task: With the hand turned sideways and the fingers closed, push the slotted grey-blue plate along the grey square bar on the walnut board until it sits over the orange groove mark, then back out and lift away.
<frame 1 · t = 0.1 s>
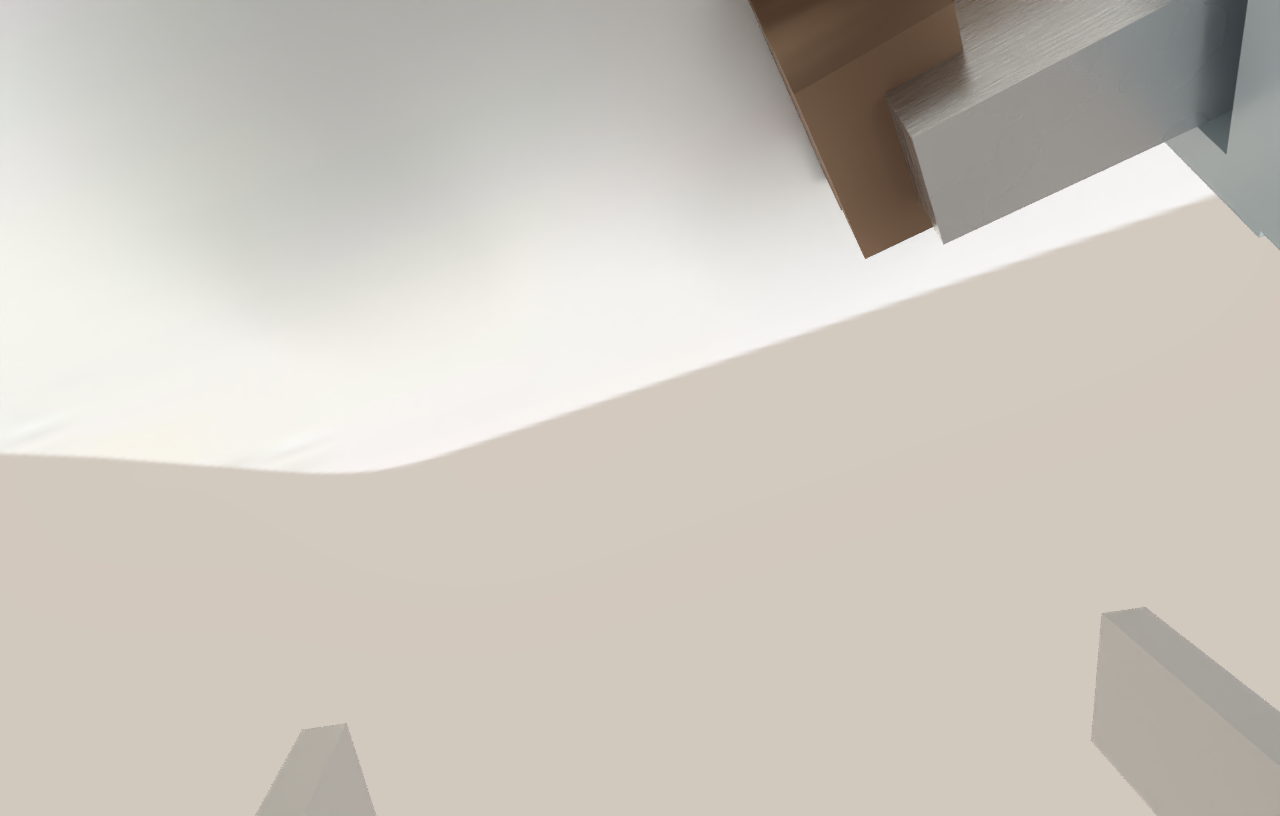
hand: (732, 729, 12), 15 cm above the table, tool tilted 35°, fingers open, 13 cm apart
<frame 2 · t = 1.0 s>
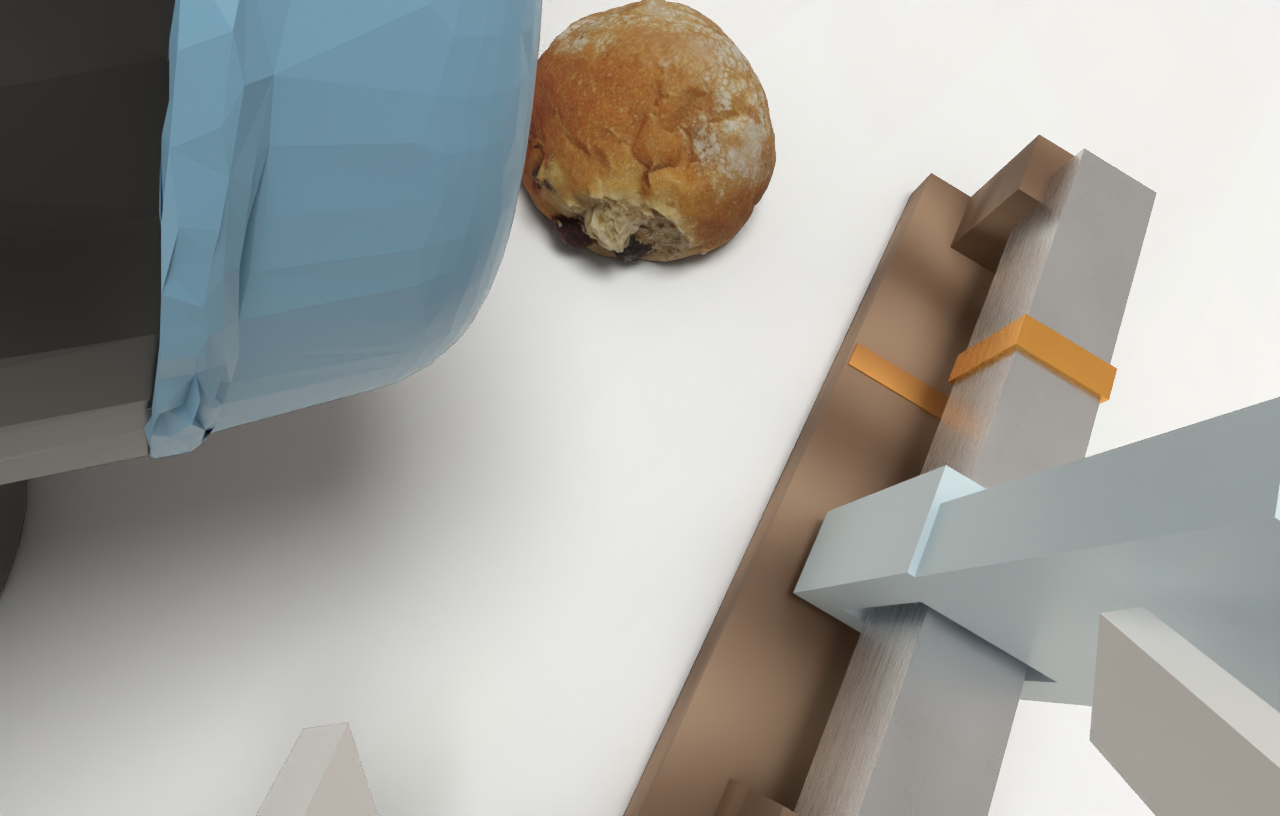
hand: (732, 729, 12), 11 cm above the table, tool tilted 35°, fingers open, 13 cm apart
base board: (895, 511, 27), on the table
grey square bar: (994, 479, 21), point 6 cm above the table
bread roll: (633, 175, 29), on the table
slotted grey-blue plate: (1065, 581, 16), point 10 cm above the table, slide at -3.8 cm, touching gripper
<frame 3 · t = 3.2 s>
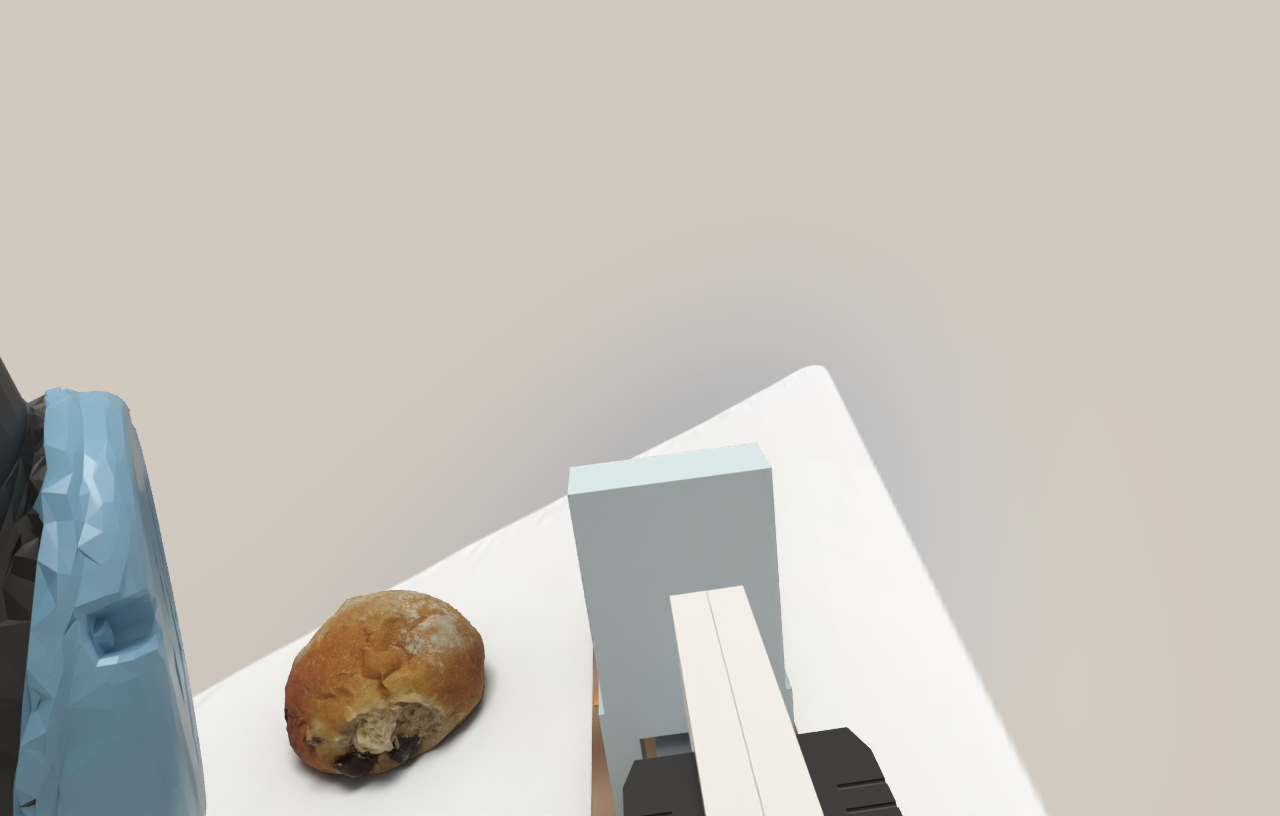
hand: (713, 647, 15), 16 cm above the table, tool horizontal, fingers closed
base board: (699, 778, 31), on the table
grey square bar: (686, 675, 29), point 6 cm above the table
bread roll: (396, 713, 38), on the table
slotted grey-blue plate: (687, 652, 24), point 9 cm above the table, slide at -3.6 cm
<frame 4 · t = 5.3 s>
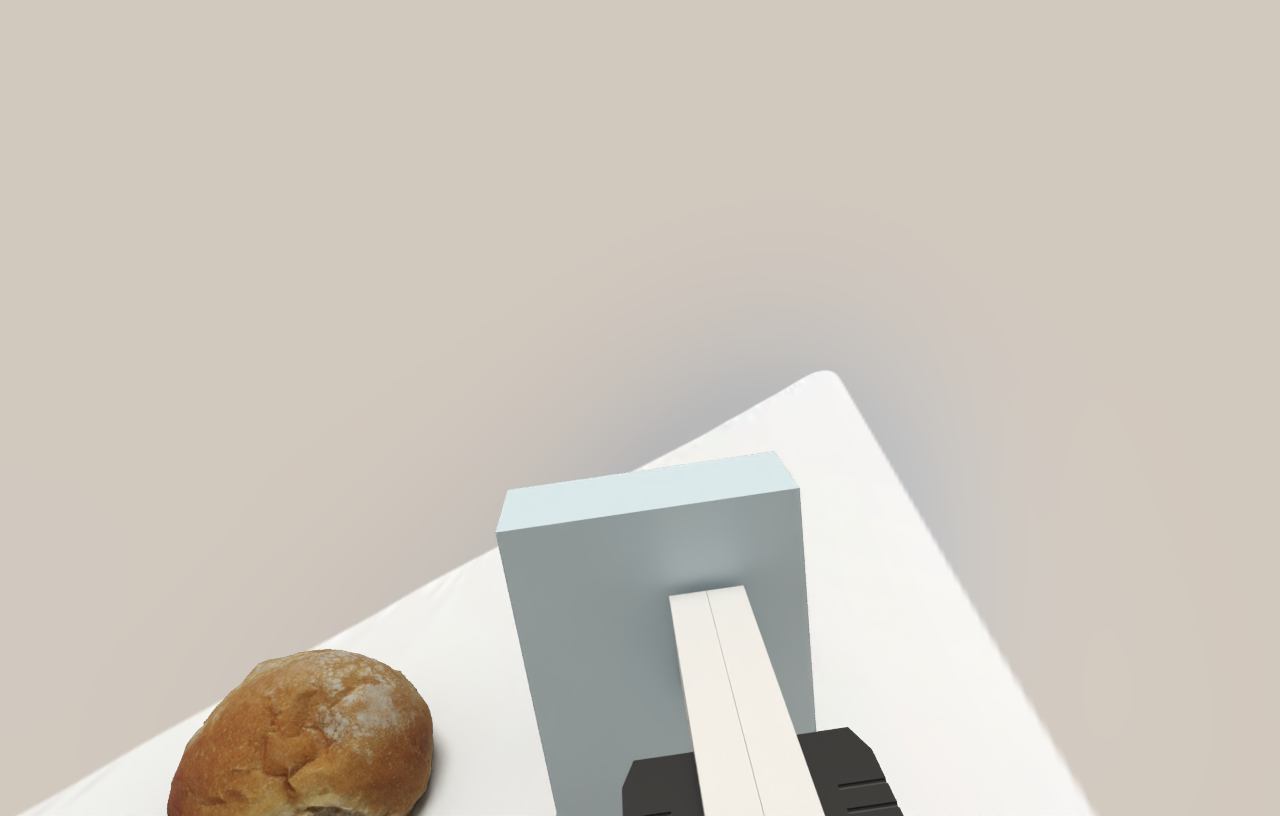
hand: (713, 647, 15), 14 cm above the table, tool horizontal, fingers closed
bread roll: (321, 807, 30), on the table
slotted grey-blue plate: (681, 745, 17), point 10 cm above the table, slide at -2.9 cm, touching gripper
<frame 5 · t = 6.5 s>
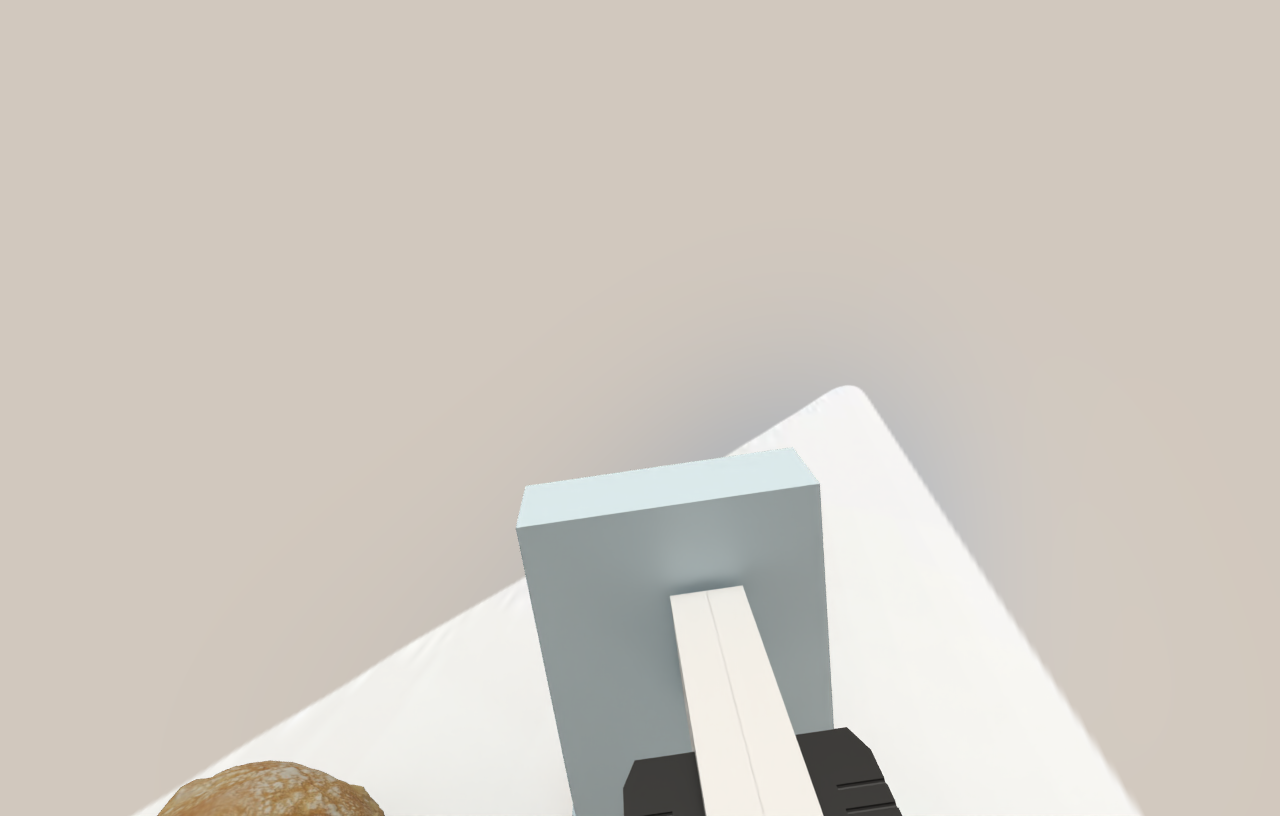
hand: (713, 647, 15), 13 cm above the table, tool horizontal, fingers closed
slotted grey-blue plate: (696, 741, 17), point 10 cm above the table, slide at 3.6 cm, touching gripper
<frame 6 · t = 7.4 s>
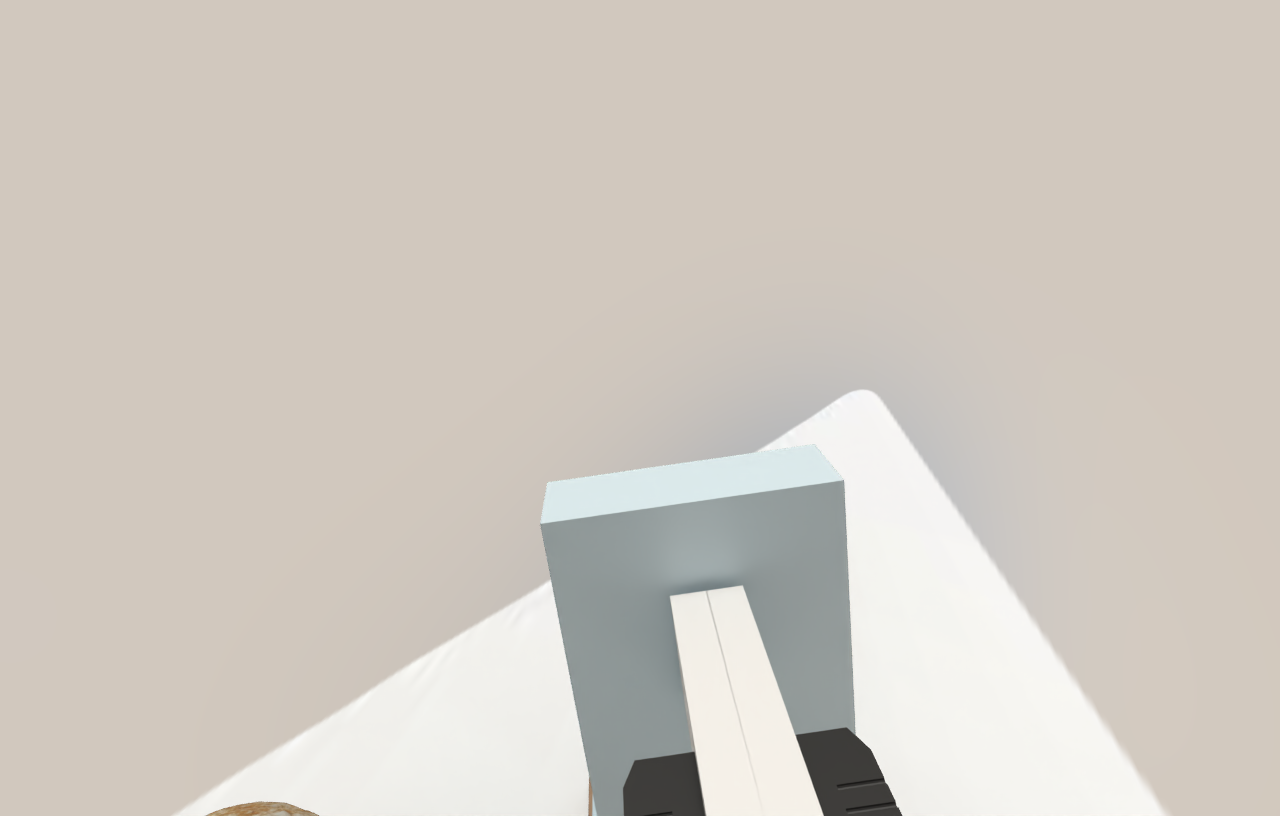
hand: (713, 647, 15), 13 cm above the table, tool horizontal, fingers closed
slotted grey-blue plate: (716, 738, 17), point 9 cm above the table, slide at 5.5 cm, touching gripper
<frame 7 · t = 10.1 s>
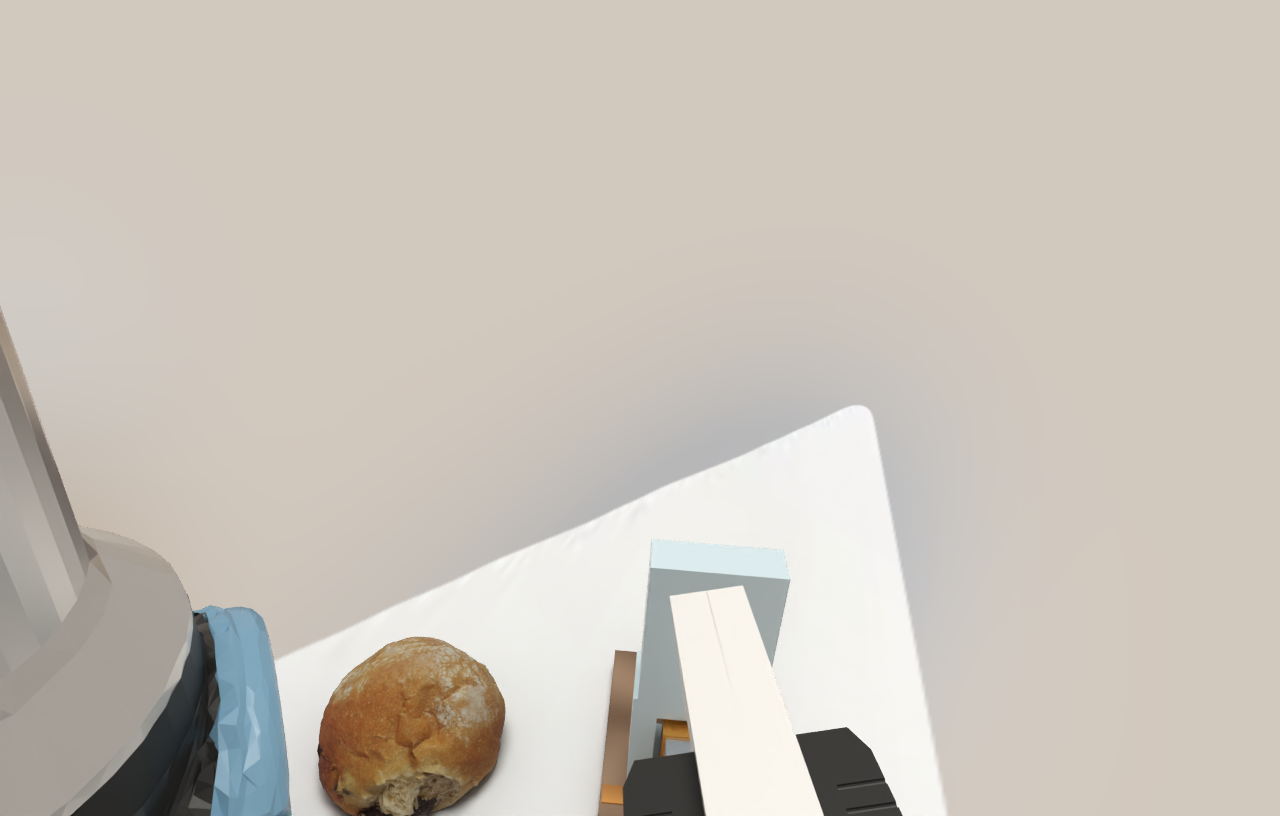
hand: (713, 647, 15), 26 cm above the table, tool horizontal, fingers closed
bread roll: (415, 753, 41), on the table
slotted grey-blue plate: (701, 668, 35), point 9 cm above the table, slide at 5.5 cm
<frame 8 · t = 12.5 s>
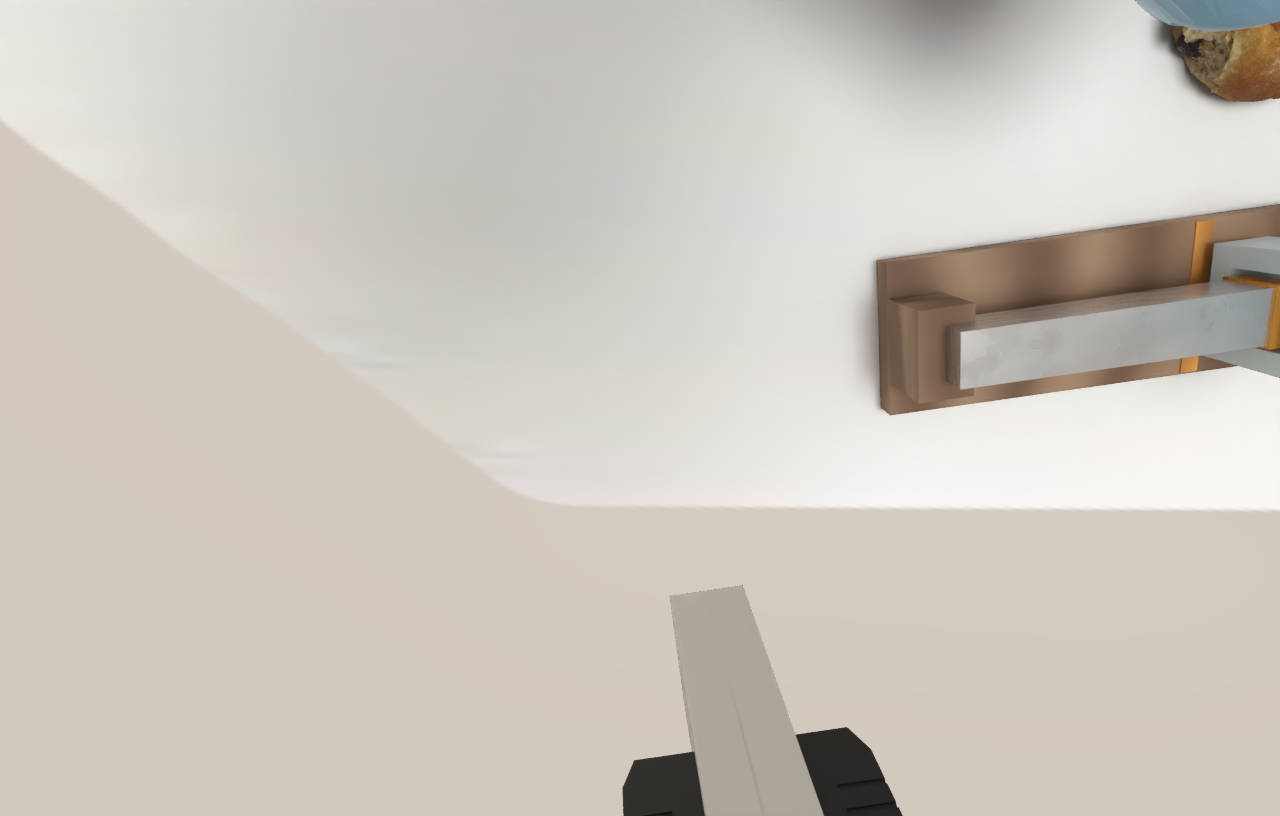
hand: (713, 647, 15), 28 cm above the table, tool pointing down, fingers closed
base board: (1109, 303, 42), on the table
grey square bar: (1181, 321, 37), point 6 cm above the table
bread roll: (1246, 4, 38), on the table
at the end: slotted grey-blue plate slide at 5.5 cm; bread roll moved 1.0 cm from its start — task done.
